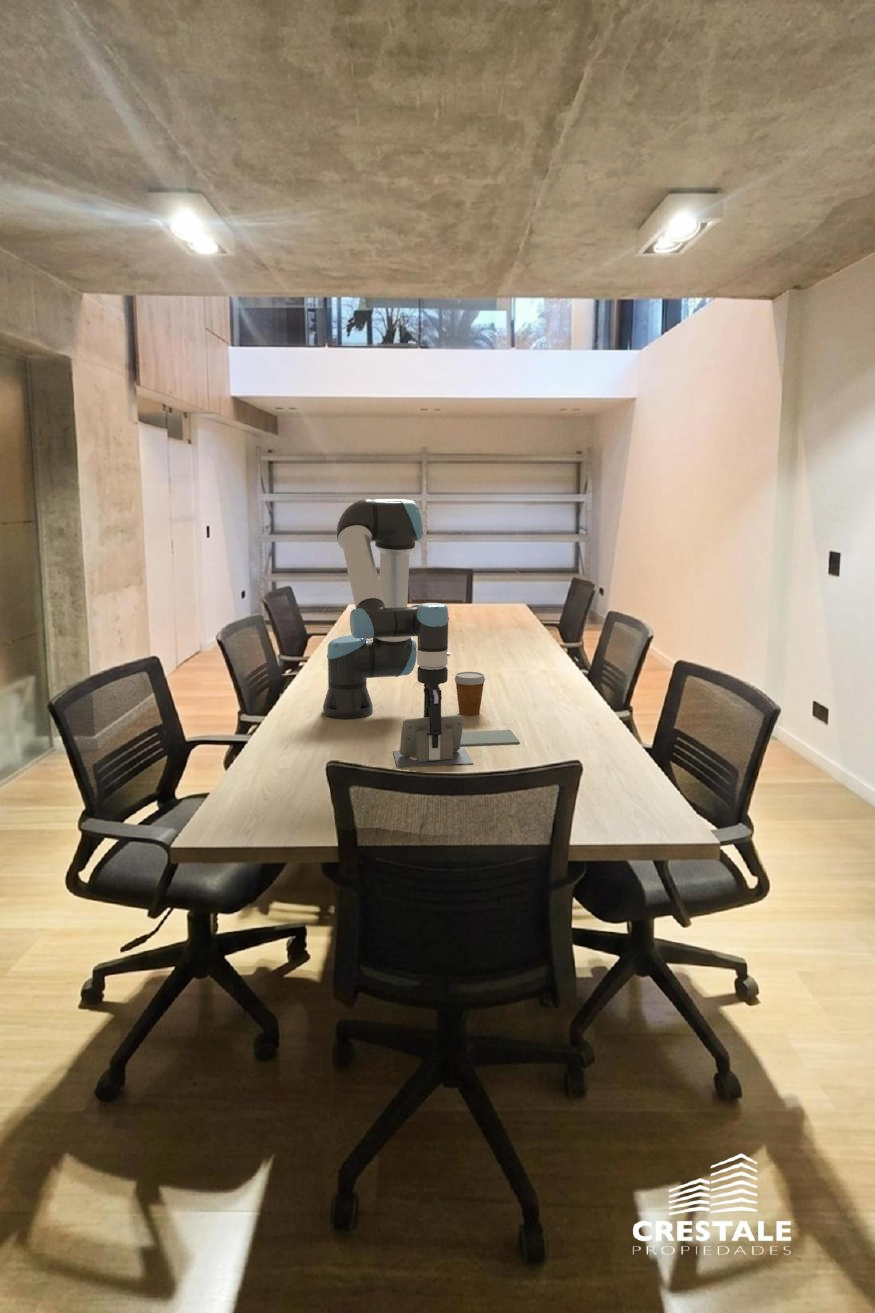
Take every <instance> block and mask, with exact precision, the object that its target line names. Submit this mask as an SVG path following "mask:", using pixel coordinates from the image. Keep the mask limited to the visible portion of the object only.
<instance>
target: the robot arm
mask: <svg viewBox="0 0 875 1313" xmlns="http://www.w3.org/2000/svg"><path fill="white" fill-rule="evenodd" d="M422 536H423V522H422V516H421V512H420V508H419V507H418V504H417V503H416V502H415V501H413V500H411V499H401V498H397V499H395V498H391V499H385V498H384V499H360V500H357V501H355V502H353V503H352V504H350V505H348V507H347V508H346V509H345V510H344V511H343V513H342V514H341V516H340V517H339V520H338V523H337V526H336V539H337V543H338V546H339V547H340V549H341V550H343V555H344V558H345V560H344V561H345V564H346V568H347V569H346V570H347V573H348V578H349V584H350V588H351V592H352V597H353V602H354V607H355V608H354V609H352V610H351V611H350V614H349V626H350V628H349V629H350V633H351V634H350V635H344V636H340V637H336V638H333V639H332V640H330V641H329V643H328V645H327V652H326V653H327V655H326V659H327V680H328V681H327V682H328V683H327V686H328V687H327V692H326V695H325V698H324V702H323V704H322V712H323V715H325V716H327V717H329V718H333V719H344V720H345V719H348V720H349V719H358V718H364V717H367V716H370V715H371V714H372V713H373V710H374V709H373V702H372V699H371V697H370V693H369V691H368V687H367V686H368V685H367V679H371V678H388V677H389V678H391V677H392V678H393V677H394V678H397V677H402V676H408V675H410V674H411V673H412V672H413V670H414V668H415V666H416V663H417V666H418V667H417V681H418V683H420V684H423V694H424V698H423V703H424V704H423V718H425V717H429V723H430V733H427V736H429V760H440V735H441V734H442V731H441V716H442V699H443V697H442V689H441V688H440V686H439V685H441V684H445V683H447V682H448V679H449V678H448V677H449V675H448V674H449V673H448V672H449V668H448V667H447V666H448V662H449V660H448V657H450V656H451V653H450V652H448V651H449V650H448V649H449V647H448V646H449V621H450V620H449V619H450V617H449V610H448V606H447V605H446V604H445V603H439V602H426V603H421V604H413V605H412V606H408V601H409V600H408V597H409V596H408V595H409V578H410V577H409V573H410V571H409V570H410V553H411V552H412V551H413V550H415V548H416V542H418V541H420V540H422V538H423V537H422ZM372 542H374V543H375V544H374V546H375V548H376V549H377V550H378V551H379V553H380V554H379V557H380V558H379V575H378V571H377V567H376V563H375V562H376V561H375V558H374V555H373V550H372V546H371V543H372ZM413 637H417V642H416V640H415V639H414V638H413ZM416 661H417V662H416Z"/></svg>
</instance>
